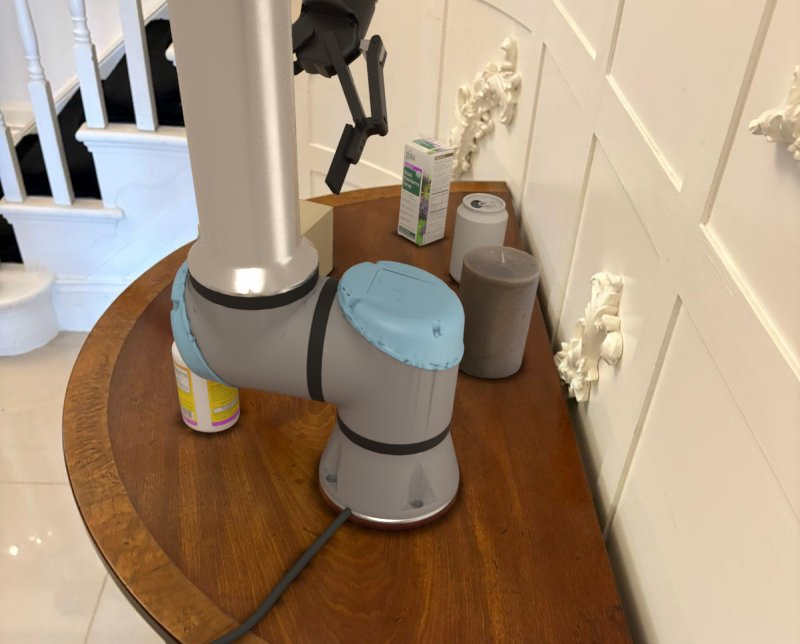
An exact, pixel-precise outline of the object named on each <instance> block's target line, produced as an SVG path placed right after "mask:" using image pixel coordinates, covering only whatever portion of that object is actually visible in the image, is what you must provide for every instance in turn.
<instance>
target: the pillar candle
mask: <svg viewBox="0 0 800 644" xmlns="http://www.w3.org/2000/svg"><path fill="white" fill-rule="evenodd" d="M542 269H543V266H542V263H541V262H540V261H539V260H538V259H537V258H535V257H534V256H533V255H531V254H529V253H528V252H527V251H524V250H521V249H517V248H515V247H511V246H505V245H503V246H500V245H491V246H480V247H476V248H473V249H471V250H469V251H467V252H466V254H465V256H464V259H463V265H462V272H461V278H460V283H459V286H458V293H457V297H458V298H459V300H460V302H461V304H462V307H463V310H464V316H465V322H464V333H463V343H464V352H463V356H462V359H461V361H460V363H459V367H458V370H460V371H462V372H463V373H465V374H467V375H469V376H472V377H476V378H481V379H502V378H507V377H510V376H512V375H514V374H516V373H517V372H518V371H519V369H520V368H521V365H522V362H523V357H524V352H525V349H526V344H527V338H528V333H529V330H530V324H531V318H532V314H533V310H534V305H535V301H536V296H537V291H538V286H539V281H540V278H541V271H542Z"/></svg>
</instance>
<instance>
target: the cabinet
mask: <svg viewBox="0 0 800 644" xmlns="http://www.w3.org/2000/svg"><path fill="white" fill-rule="evenodd" d="M299 208H300V232H301V234H302V235H303V236H305V237H306V238H307V239H309V240H310V241H311V242H312V243H313V245H314V246H315V248H316V250H317V252H318V258H319V275H320V276H325V277H327V276H328V274H330V272H332V270H333V261H334V260H333V259H334V258H333V253H334V251H333V250H334V206H331V205H328V204H322V203H318V202H314V201H310V200H305V199H301V198H299ZM200 233H201V232H200V225H199V223H198V224H197V236H198V235H199V234H200Z"/></svg>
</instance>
